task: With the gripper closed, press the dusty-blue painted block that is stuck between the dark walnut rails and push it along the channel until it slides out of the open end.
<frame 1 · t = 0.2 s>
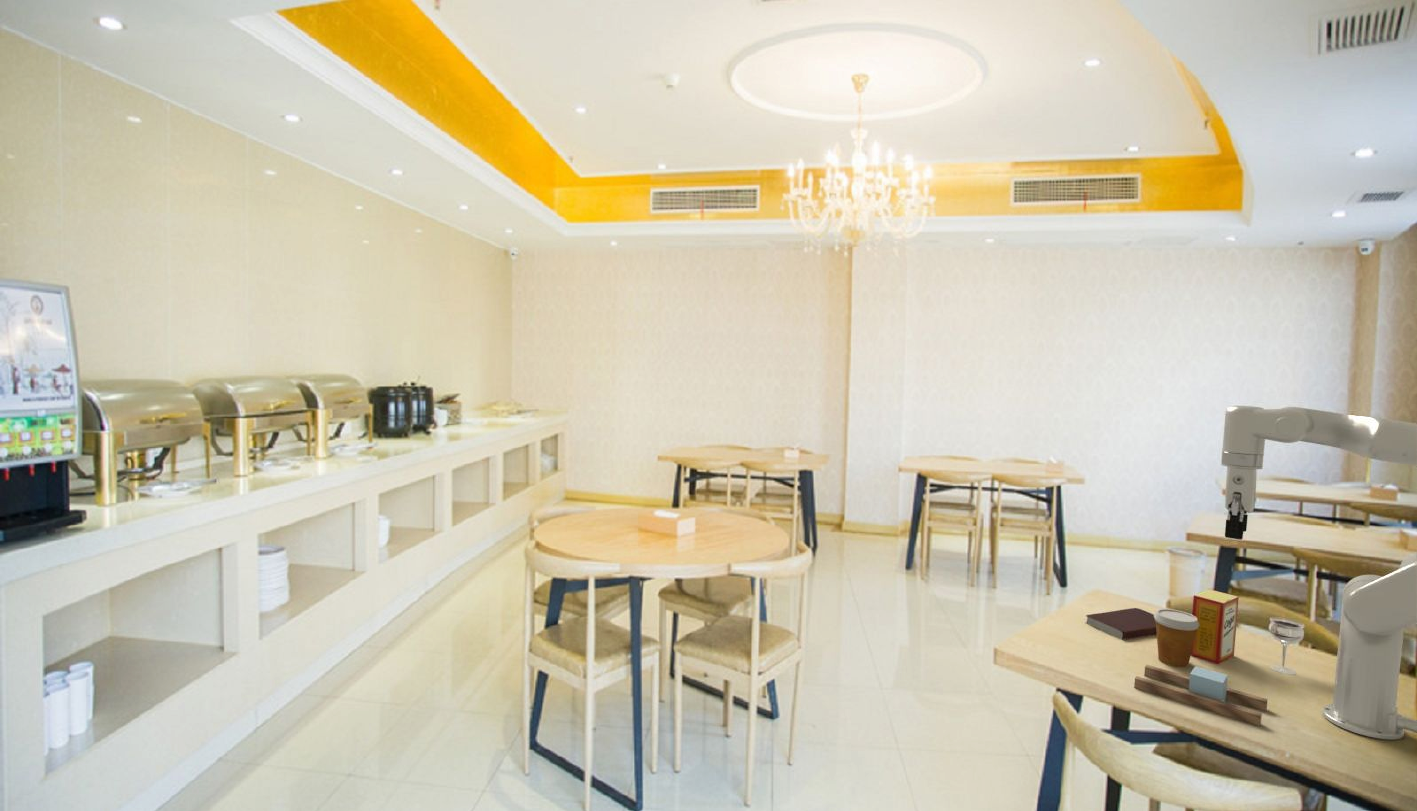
hand: (1235, 534, 161), 36 cm above the table, tool pointing down, fingers open, 9 cm apart
baking soda box: (1211, 656, 181), on the table
disposable coffee cup: (1173, 662, 177), on the table
book: (1128, 629, 199), on the table
block: (1207, 687, 157), point 3 cm above the table, slide at 0.0 cm
wineglass: (1282, 670, 173), on the table
chute: (1198, 697, 158), on the table
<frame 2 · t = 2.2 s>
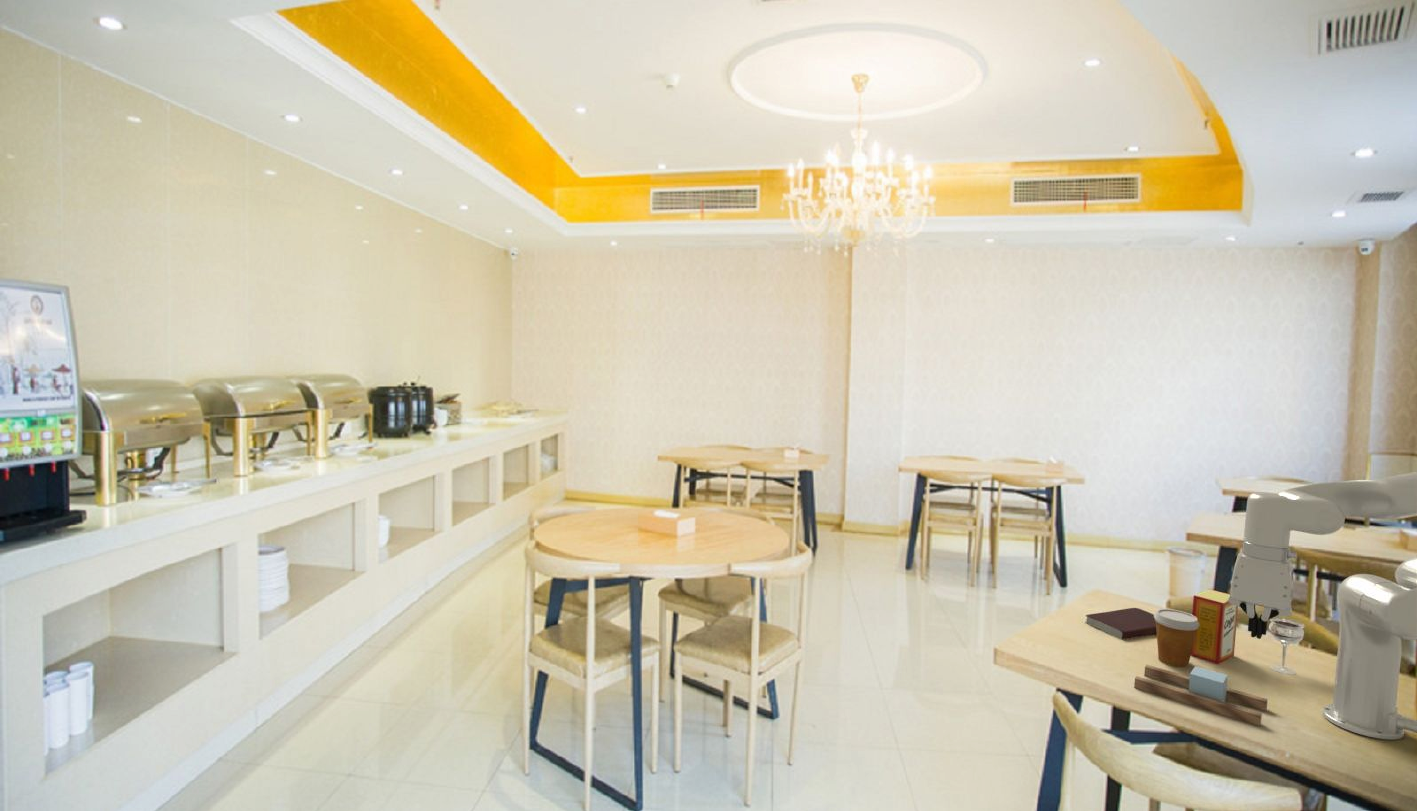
hand: (1256, 636, 150), 17 cm above the table, tool pointing down, fingers closed
nothing on the table moved.
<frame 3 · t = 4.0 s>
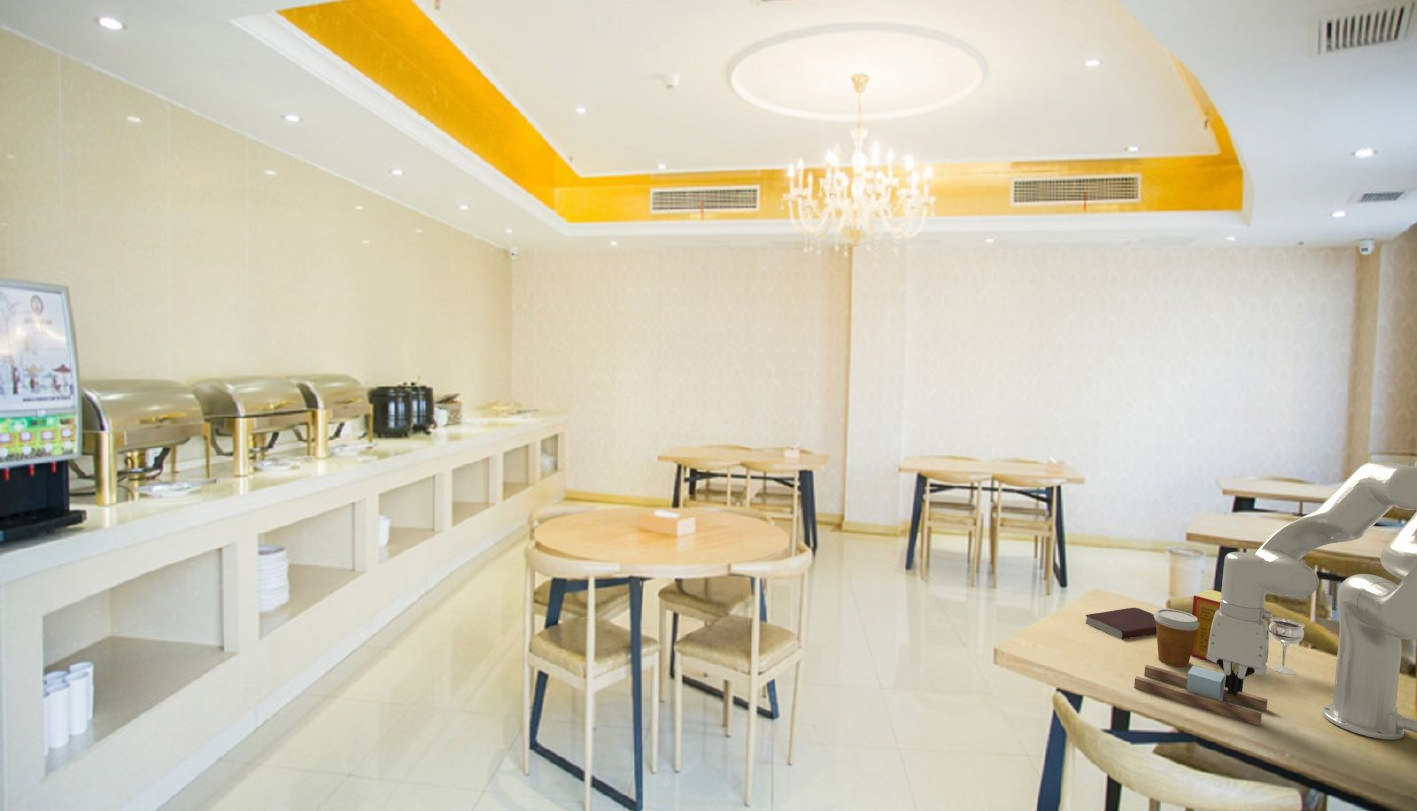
hand: (1233, 692, 153), 4 cm above the table, tool pointing down, fingers closed
block: (1205, 686, 157), point 3 cm above the table, slide at 0.4 cm, touching gripper
everything else where it was.
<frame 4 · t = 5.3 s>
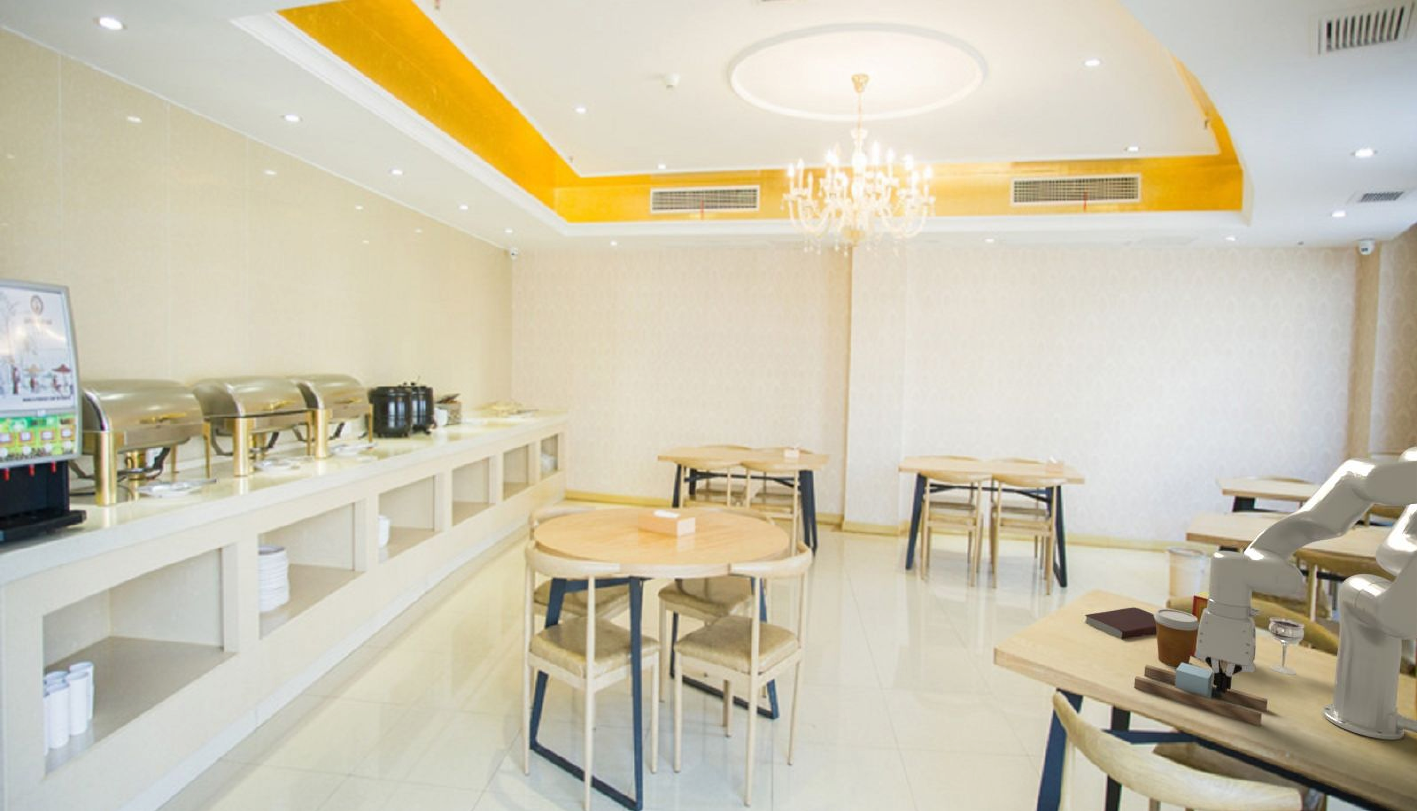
hand: (1221, 689, 155), 3 cm above the table, tool pointing down, fingers closed
block: (1193, 683, 159), point 3 cm above the table, slide at 2.6 cm, touching gripper
everything else where it was.
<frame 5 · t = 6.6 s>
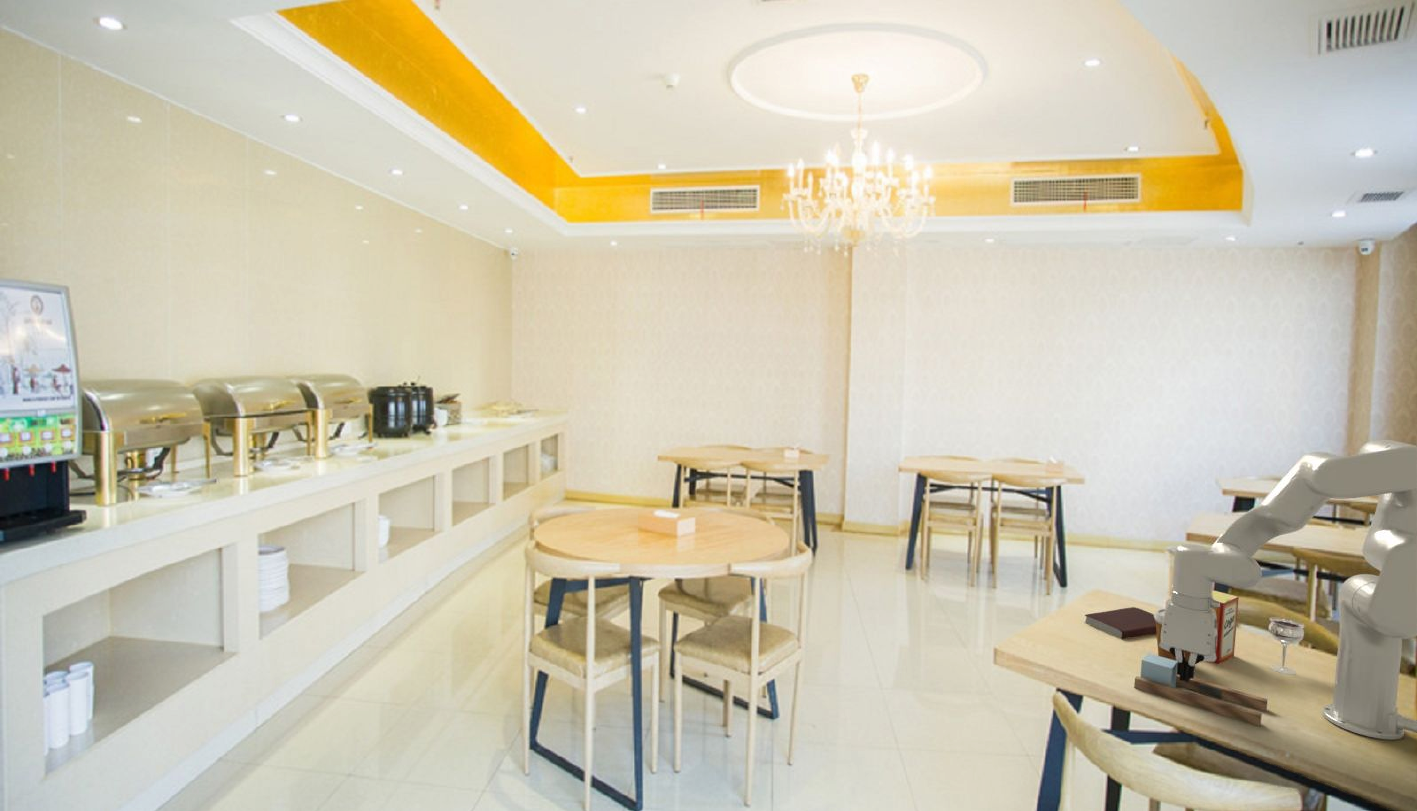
hand: (1185, 679, 160), 3 cm above the table, tool pointing down, fingers closed
block: (1158, 673, 163), point 3 cm above the table, slide at 9.4 cm, touching gripper
everything else where it was.
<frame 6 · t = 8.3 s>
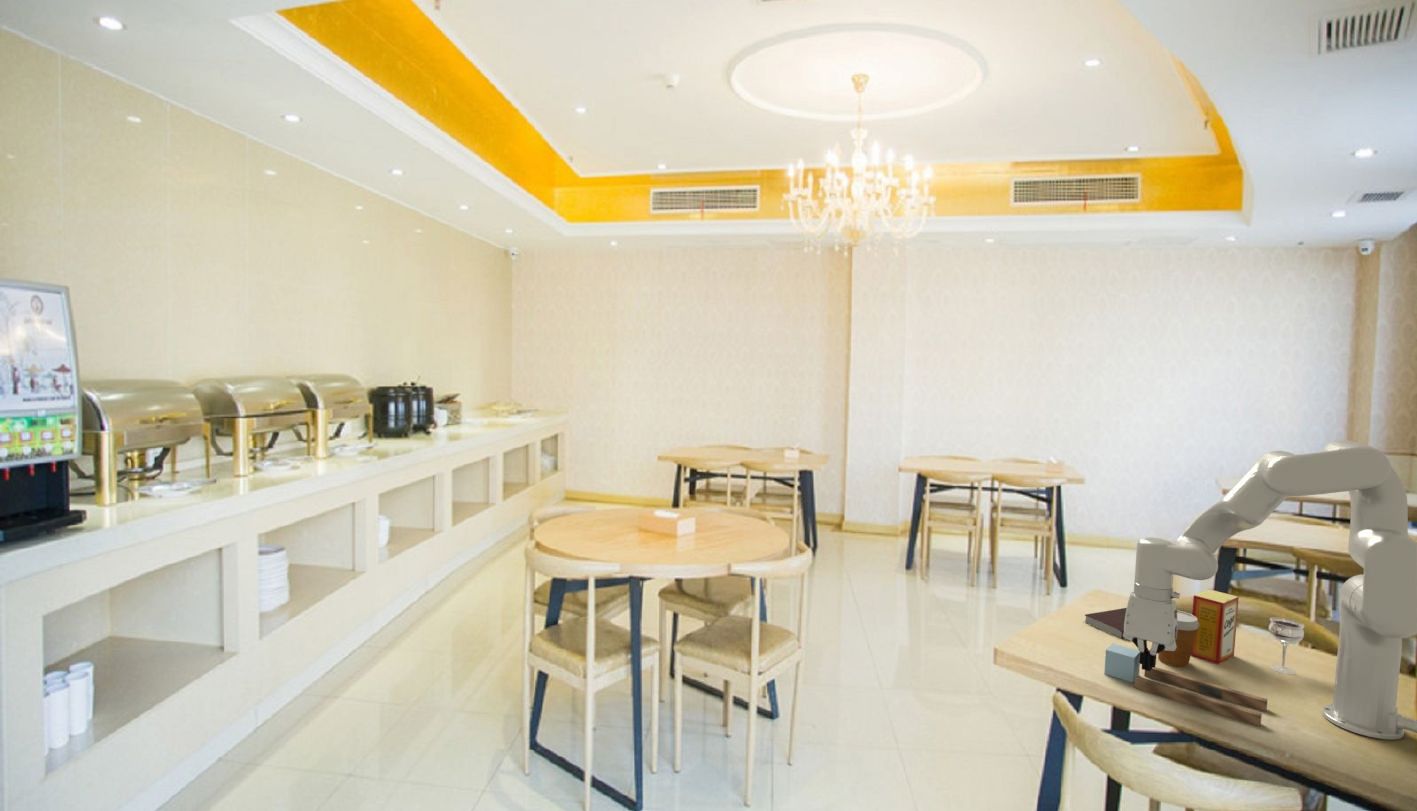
hand: (1147, 668, 165), 3 cm above the table, tool pointing down, fingers closed
block: (1122, 662, 169), point 3 cm above the table, slide at 16.9 cm, touching gripper
everything else where it was.
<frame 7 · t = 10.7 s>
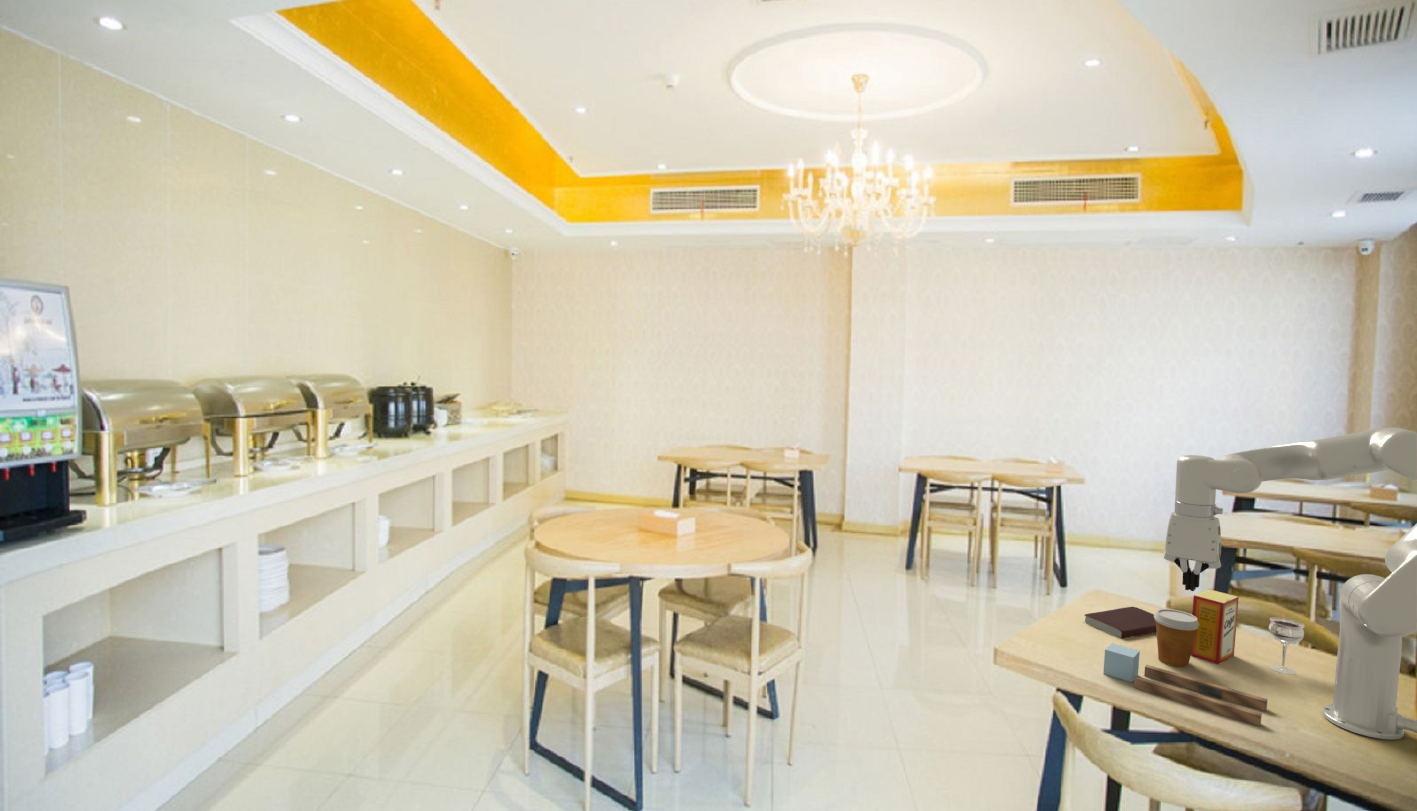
hand: (1190, 589, 161), 23 cm above the table, tool pointing down, fingers closed
block: (1121, 662, 169), point 3 cm above the table, slide at 17.1 cm
everything else where it was.
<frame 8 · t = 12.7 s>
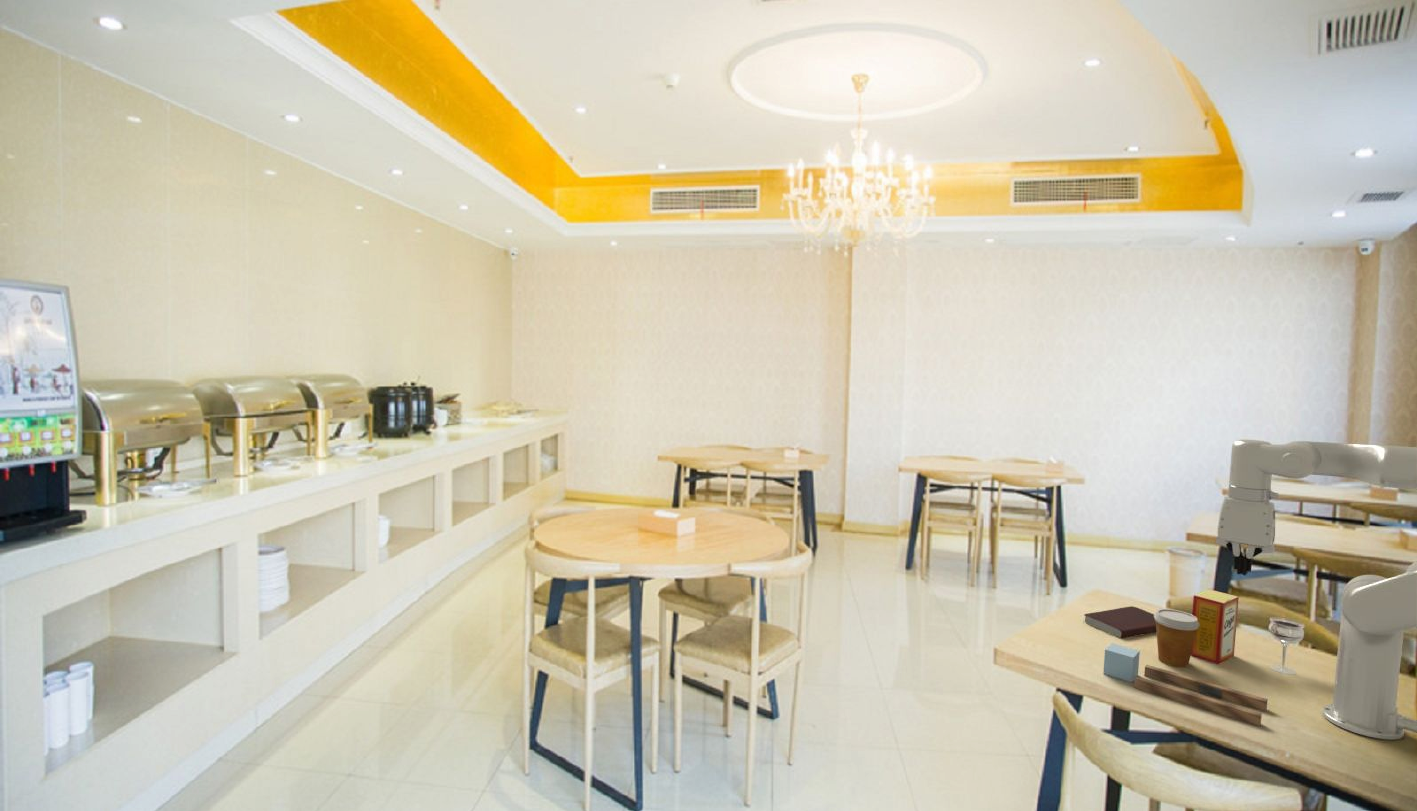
hand: (1242, 573, 161), 27 cm above the table, tool pointing down, fingers closed
at the end: block slide at 17.1 cm; block moved 17.1 cm from its start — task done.
